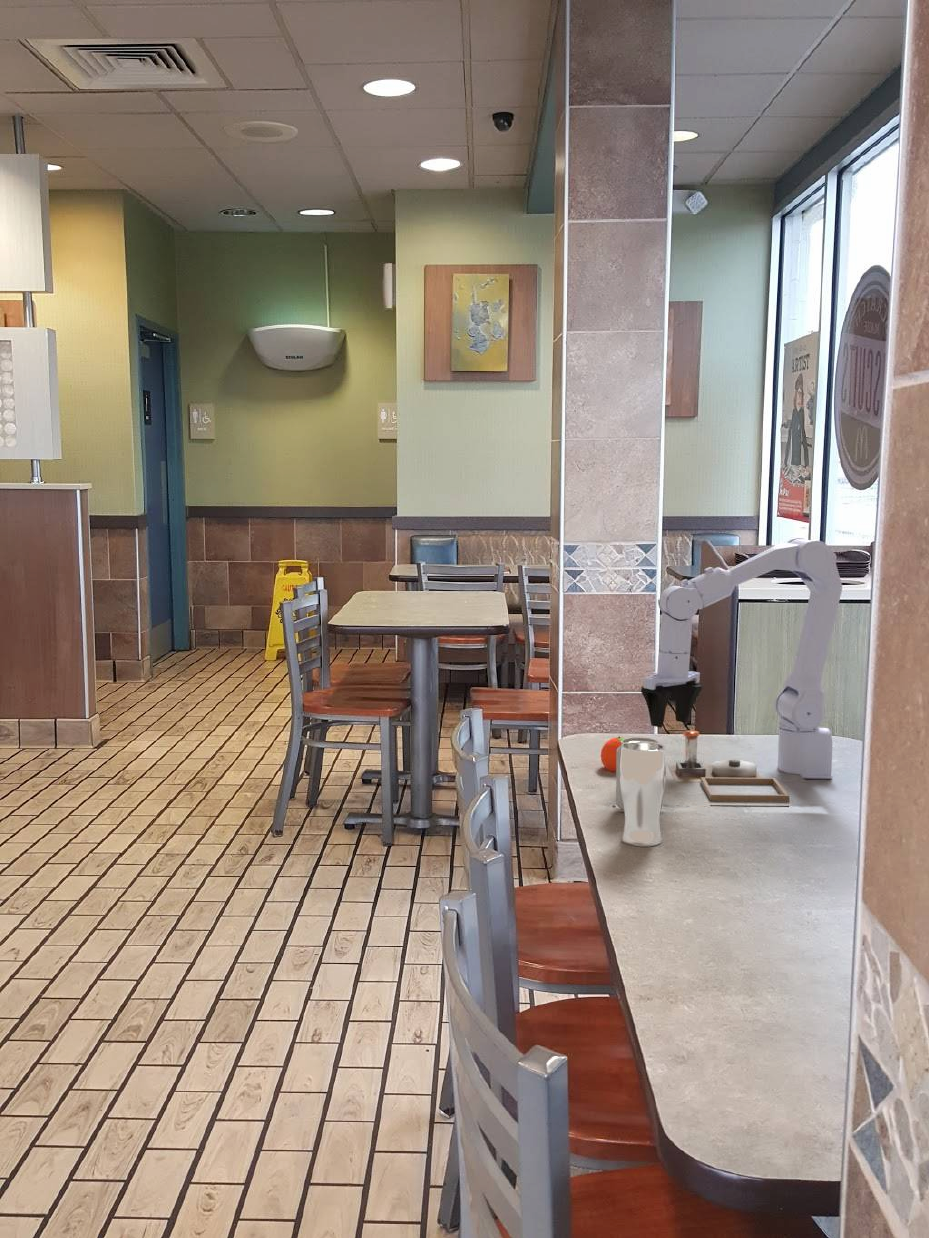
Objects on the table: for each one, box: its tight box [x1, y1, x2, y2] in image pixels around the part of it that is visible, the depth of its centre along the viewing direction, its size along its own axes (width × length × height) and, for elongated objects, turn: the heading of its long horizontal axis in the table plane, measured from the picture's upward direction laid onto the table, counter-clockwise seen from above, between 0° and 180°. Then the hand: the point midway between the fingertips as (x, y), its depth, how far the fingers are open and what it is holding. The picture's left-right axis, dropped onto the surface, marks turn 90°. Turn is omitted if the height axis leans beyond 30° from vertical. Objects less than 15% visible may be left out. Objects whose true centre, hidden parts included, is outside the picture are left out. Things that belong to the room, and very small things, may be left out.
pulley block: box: [667, 759, 763, 783], centre depth 208 cm, size 16×12×3 cm
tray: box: [700, 777, 790, 808], centre depth 196 cm, size 13×11×2 cm
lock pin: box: [683, 730, 700, 768], centre depth 208 cm, size 3×3×8 cm
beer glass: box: [620, 741, 667, 848], centre depth 172 cm, size 7×7×15 cm
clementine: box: [600, 736, 626, 773], centre depth 212 cm, size 8×7×7 cm
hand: (669, 723), depth 208 cm, fingers open, 7 cm apart
